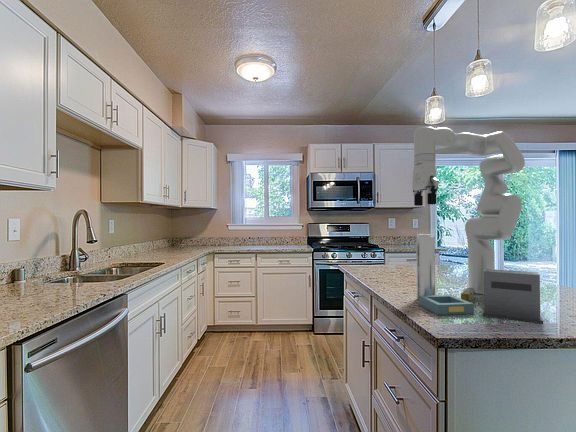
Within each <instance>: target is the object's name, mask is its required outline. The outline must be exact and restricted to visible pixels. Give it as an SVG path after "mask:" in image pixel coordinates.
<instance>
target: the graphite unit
mask: <svg viewBox="0 0 576 432" xmlns="http://www.w3.org/2000/svg"><path fill="white" fill-rule="evenodd" d="M540 277H541V275H540V274H539V273H538V272H537V271H522V270H512V269H511V270H509V269H507V270H506V269H484V294H483V306H482V309H481V310H482V312H481V313H482V315H481V316H482V317H484V318H485V317H486V318H493V319H500V320H509V321H517V322H525V323H531V324H538V325H544V320H543V318H542V317H541V278H540Z"/></svg>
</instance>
